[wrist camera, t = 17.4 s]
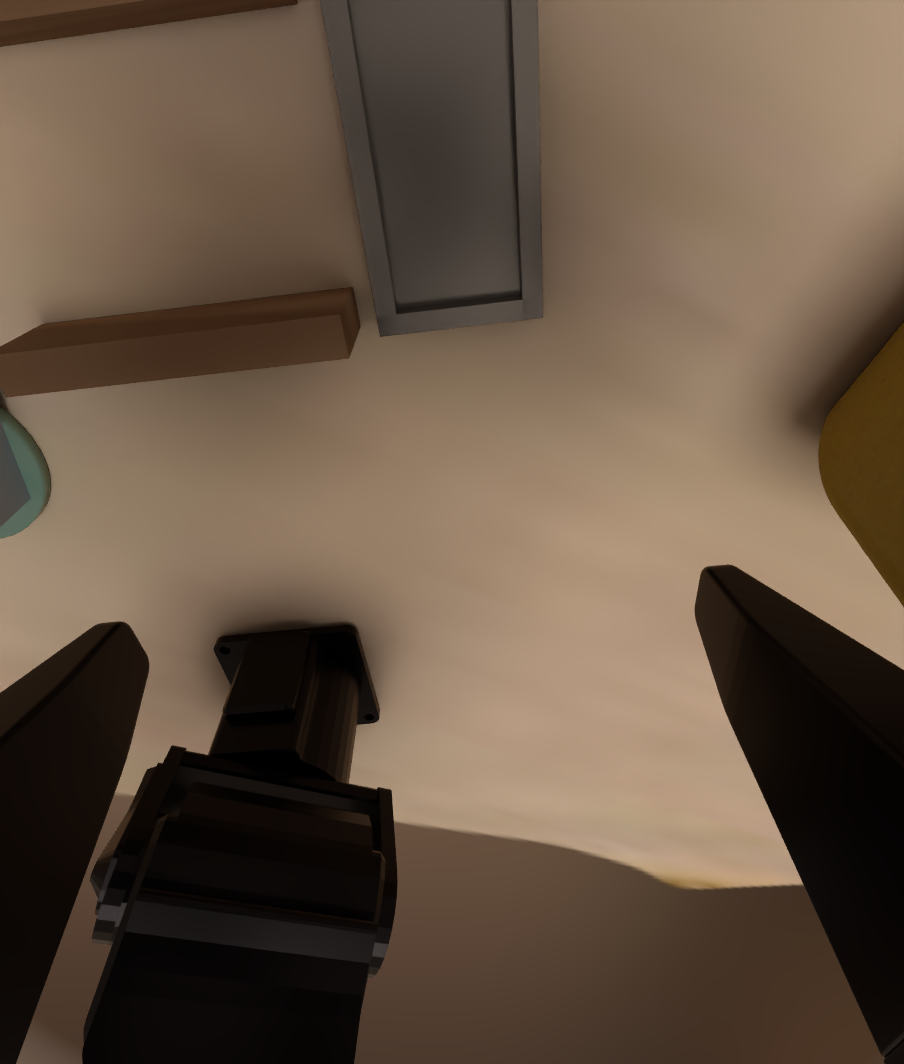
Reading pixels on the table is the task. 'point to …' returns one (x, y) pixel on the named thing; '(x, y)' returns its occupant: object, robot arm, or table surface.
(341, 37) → the tray
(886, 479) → the flower pot
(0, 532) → the coaster
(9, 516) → the block
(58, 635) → the table surface
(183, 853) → the robot arm
